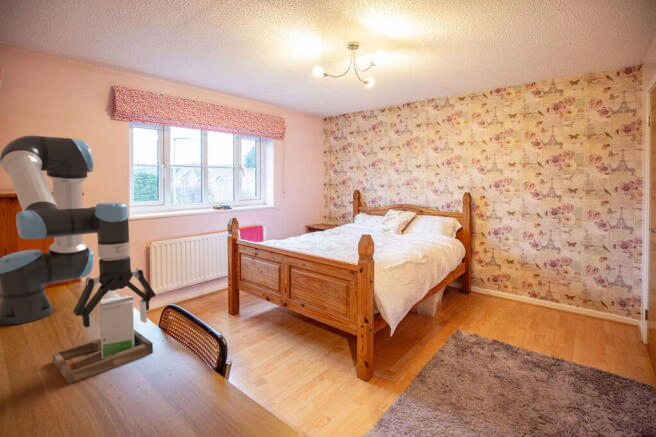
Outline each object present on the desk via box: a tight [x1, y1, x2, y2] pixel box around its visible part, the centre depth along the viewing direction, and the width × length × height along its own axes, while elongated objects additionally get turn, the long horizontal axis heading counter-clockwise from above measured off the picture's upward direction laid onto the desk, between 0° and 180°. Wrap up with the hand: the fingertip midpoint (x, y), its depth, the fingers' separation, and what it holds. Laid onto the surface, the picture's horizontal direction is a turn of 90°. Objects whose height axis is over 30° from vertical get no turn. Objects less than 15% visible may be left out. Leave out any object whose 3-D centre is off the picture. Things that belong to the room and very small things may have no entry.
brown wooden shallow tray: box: [51, 329, 154, 385], centre depth 95 cm, size 15×20×3 cm
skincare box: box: [99, 295, 135, 360], centre depth 97 cm, size 8×7×16 cm
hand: (118, 328), depth 97 cm, fingers open, 13 cm apart
